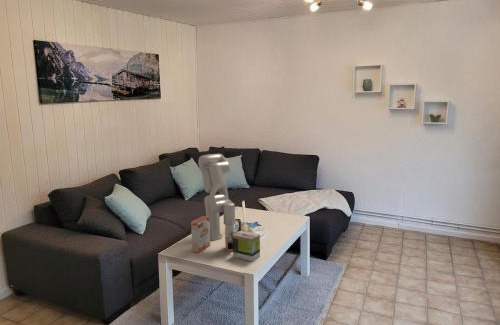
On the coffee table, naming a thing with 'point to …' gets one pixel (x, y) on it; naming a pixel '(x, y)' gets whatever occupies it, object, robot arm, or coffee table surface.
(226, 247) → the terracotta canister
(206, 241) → the cracker box
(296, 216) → the coffee table surface
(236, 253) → the tea box
